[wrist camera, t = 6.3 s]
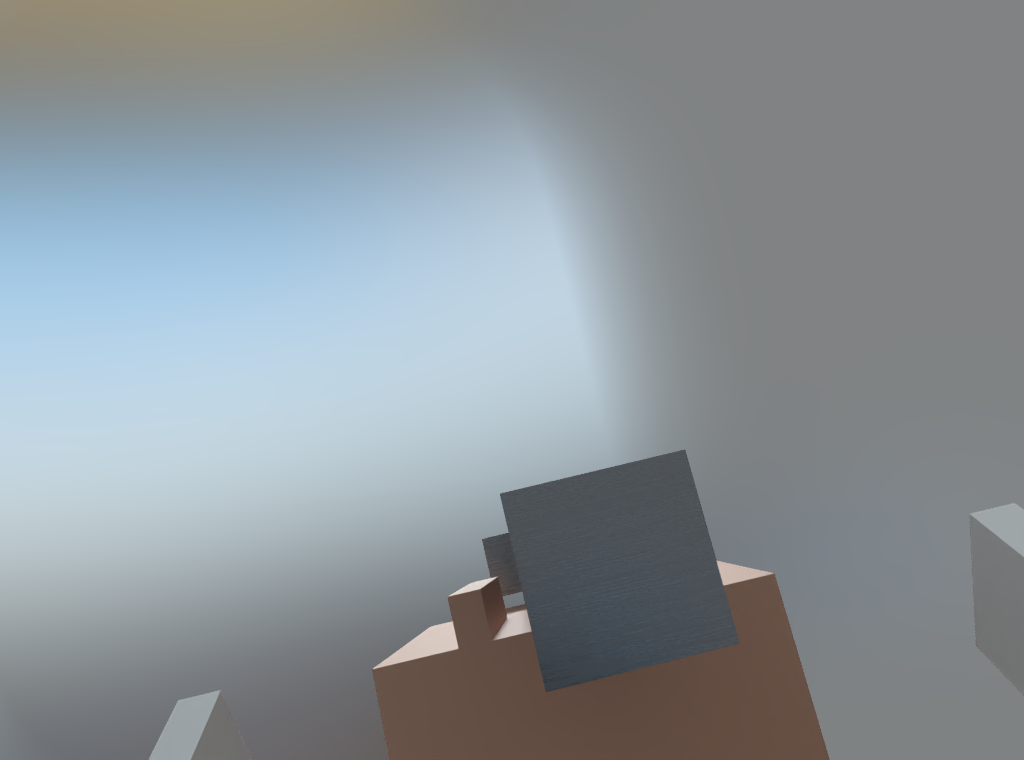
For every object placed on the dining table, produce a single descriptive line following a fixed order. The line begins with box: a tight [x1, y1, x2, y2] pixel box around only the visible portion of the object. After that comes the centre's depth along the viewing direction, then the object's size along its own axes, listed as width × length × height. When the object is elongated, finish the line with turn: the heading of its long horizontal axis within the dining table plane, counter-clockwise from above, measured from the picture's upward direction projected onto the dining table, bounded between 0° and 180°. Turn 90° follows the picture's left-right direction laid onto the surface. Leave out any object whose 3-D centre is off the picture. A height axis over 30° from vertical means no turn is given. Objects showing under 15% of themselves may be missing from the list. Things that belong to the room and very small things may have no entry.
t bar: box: [482, 450, 740, 692], centre depth 25 cm, size 6×22×4 cm, turn 0°
